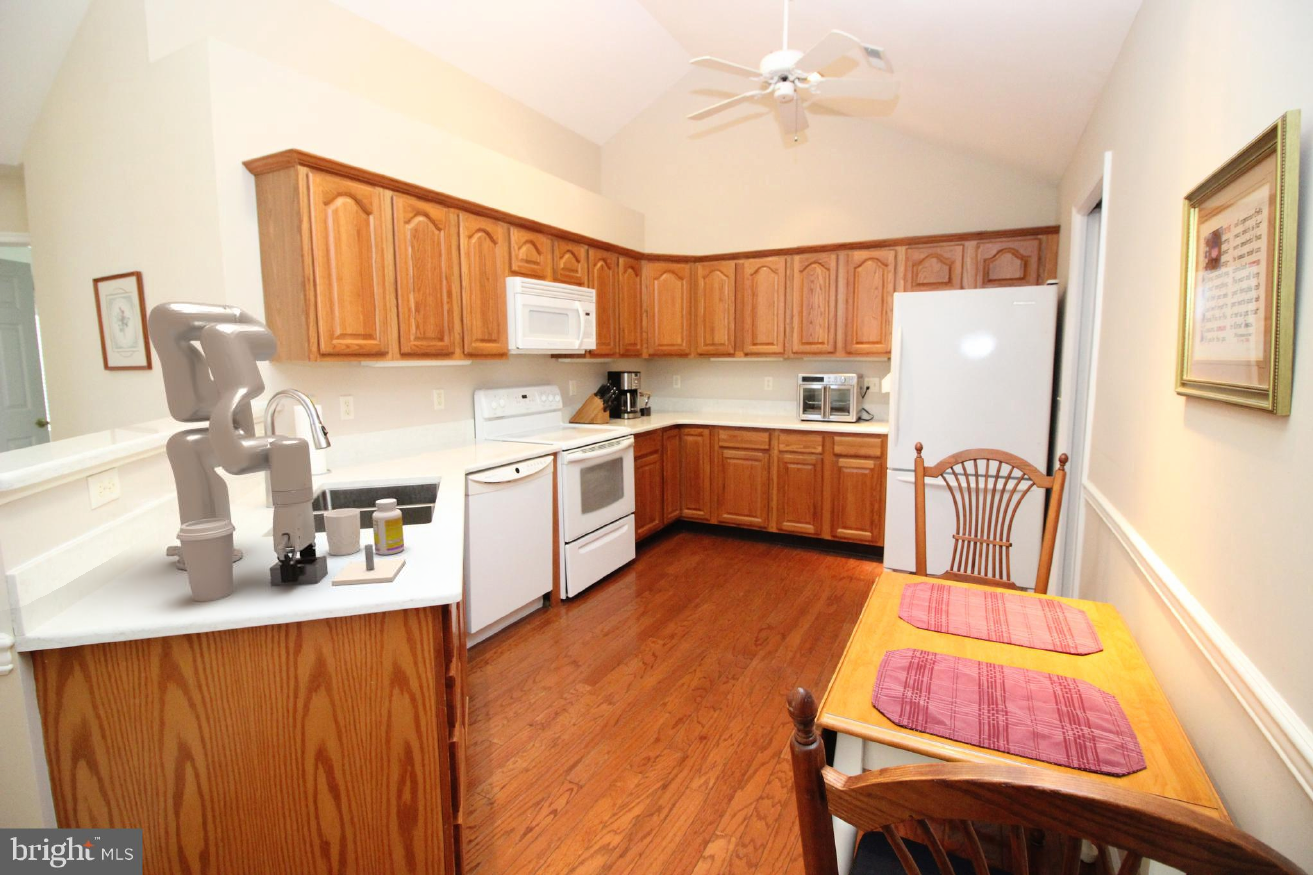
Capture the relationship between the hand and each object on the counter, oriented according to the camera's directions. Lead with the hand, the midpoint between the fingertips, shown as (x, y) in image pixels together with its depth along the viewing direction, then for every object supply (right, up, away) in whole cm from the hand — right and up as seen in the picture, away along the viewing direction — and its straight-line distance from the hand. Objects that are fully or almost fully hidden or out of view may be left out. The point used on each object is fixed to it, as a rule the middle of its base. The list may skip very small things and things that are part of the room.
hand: (299, 573), depth 130 cm
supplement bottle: (+11, +1, +19) cm, 22 cm away
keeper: (+14, -1, +3) cm, 14 cm away
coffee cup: (-13, -3, -8) cm, 15 cm away
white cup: (0, +1, +19) cm, 19 cm away
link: (0, -1, 0) cm, 1 cm away
